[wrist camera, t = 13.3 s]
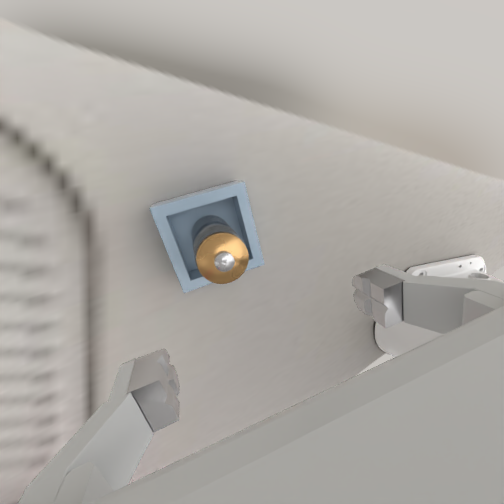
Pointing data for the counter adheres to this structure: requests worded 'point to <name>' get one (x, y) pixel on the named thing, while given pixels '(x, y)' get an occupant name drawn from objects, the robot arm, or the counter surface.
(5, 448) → the counter surface
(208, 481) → the robot arm
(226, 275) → the cell
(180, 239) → the light blue square tray
